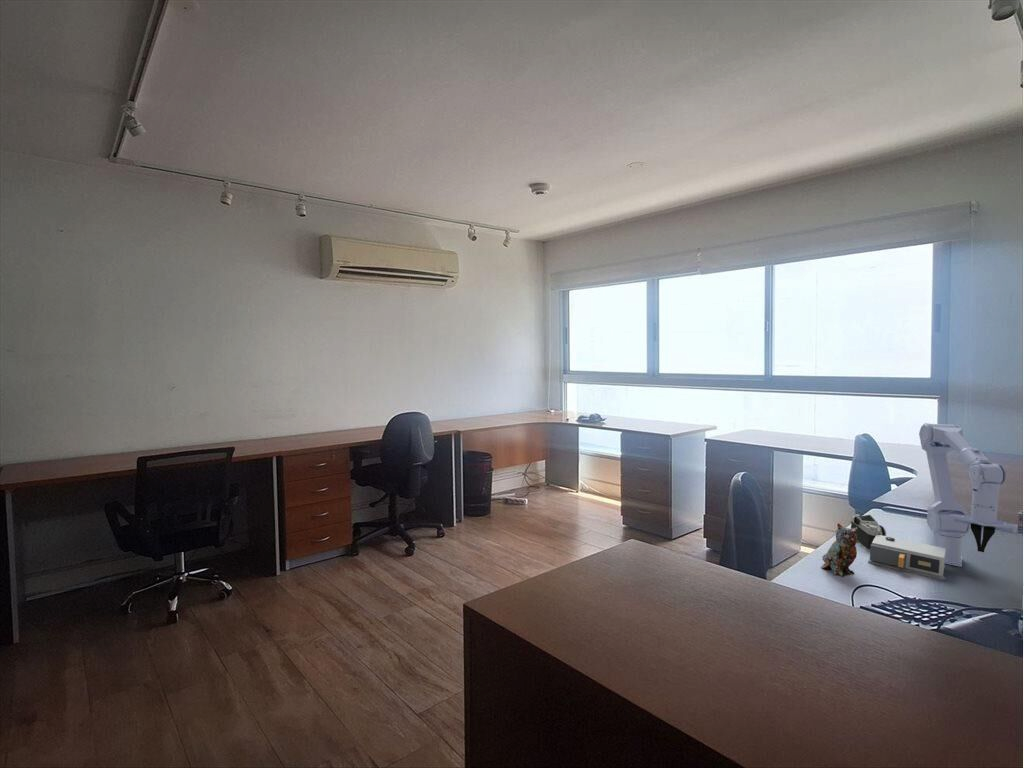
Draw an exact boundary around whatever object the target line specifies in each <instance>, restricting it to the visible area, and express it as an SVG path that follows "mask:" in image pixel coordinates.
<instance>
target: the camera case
mask: <svg viewBox="0 0 1024 768" xmlns="http://www.w3.org/2000/svg"><path fill="white" fill-rule="evenodd" d="M872 545H876V546H881V547H885V548H890V549H895V550H899V551H904V552H907V556H906V568H901V567H898V566H895V565H890V564H886V563H882V562H877V561H873V560H870V559H868V560H867V563H869V564H872V565H875V566H876V565H877V566H881V567H885V568H890V569H894V570H899V571H903V572H906V573H910V574H915V575H919V576H924V577H929V578H933V579H937V580H941V581H945V578H946V577H945V576H944V574H945V573H944V572H945V555H946V548H942V547H937V546H932V545H933V544H932V545H931V544H926V543H921V542H916V541H913V540H912V541H911V540H906V539H901V538H897V537H892V536H887V535H886V536H882V535H876V536H875V538H874V540H873V542H872Z"/></svg>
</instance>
